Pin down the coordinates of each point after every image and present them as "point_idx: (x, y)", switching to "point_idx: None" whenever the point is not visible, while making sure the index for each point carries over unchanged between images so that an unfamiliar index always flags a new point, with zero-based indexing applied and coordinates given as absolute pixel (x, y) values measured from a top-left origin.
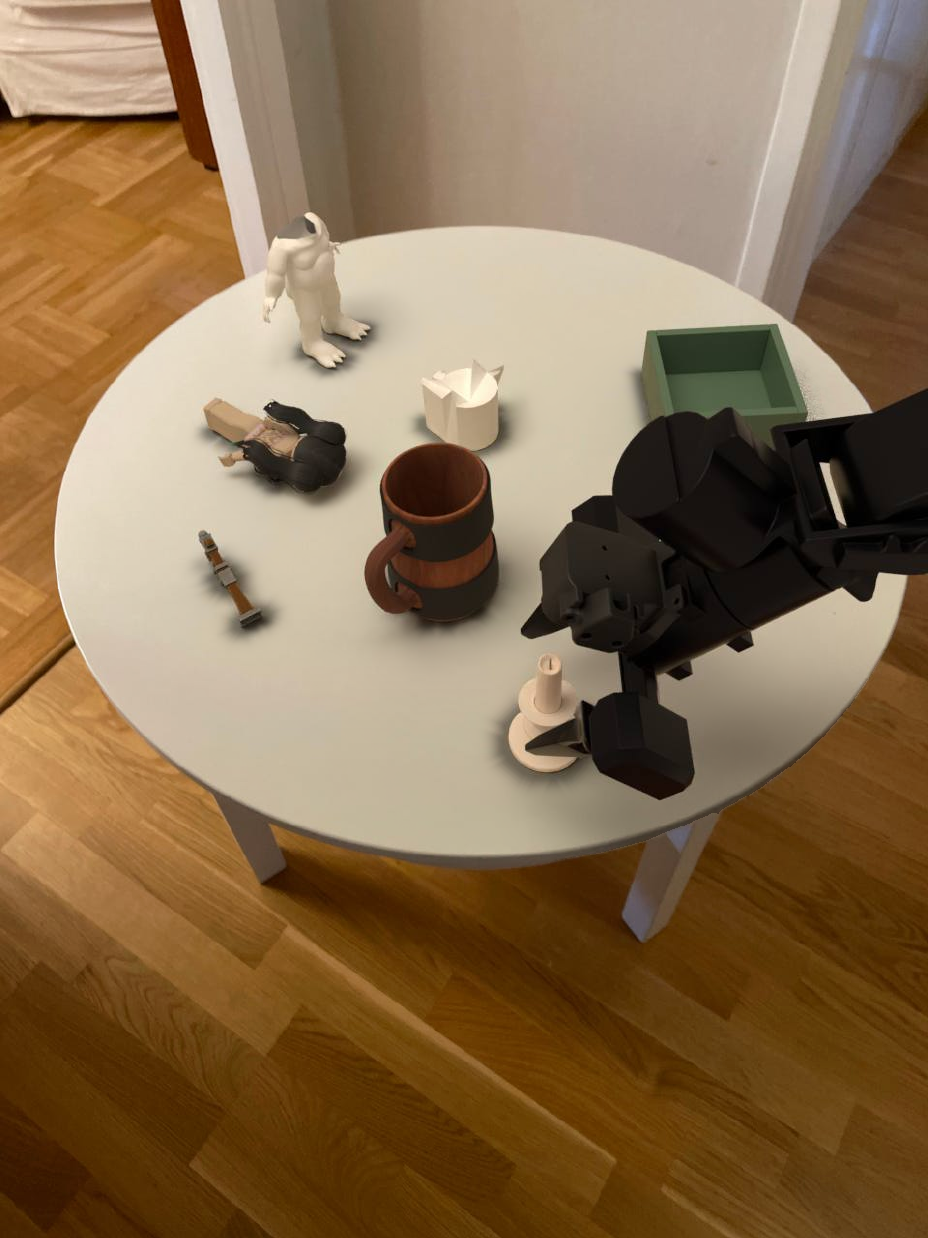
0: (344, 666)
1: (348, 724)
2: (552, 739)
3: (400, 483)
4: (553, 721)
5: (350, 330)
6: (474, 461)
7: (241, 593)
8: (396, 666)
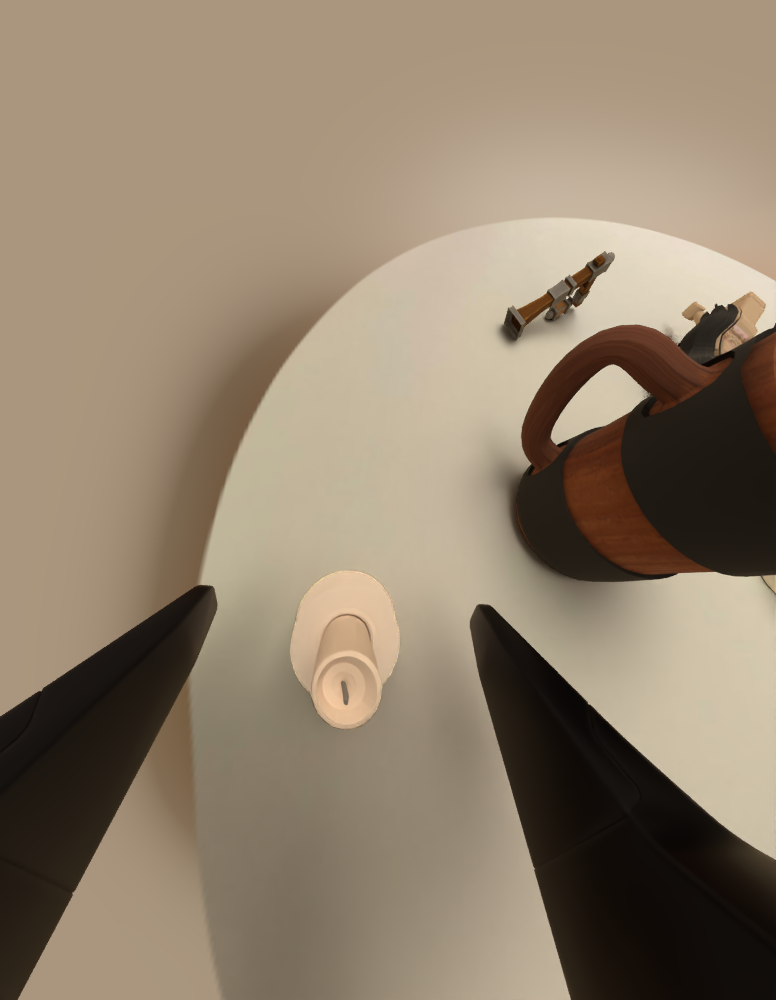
0: (459, 404)
1: (391, 402)
2: (82, 670)
3: None
4: (301, 648)
5: None
6: None
7: (539, 307)
8: (458, 453)
